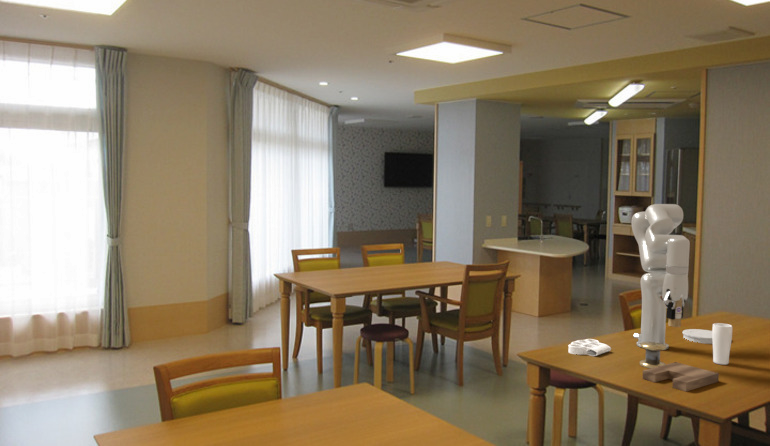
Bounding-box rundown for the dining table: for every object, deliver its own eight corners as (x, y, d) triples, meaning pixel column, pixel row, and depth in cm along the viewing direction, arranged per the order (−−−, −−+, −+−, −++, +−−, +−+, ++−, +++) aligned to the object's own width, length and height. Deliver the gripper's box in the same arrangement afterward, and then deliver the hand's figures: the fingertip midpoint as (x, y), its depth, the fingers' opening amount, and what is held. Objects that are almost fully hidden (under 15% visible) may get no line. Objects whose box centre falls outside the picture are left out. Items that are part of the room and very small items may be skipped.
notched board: (642, 378, 217) (642, 370, 217) (675, 370, 228) (675, 362, 228) (685, 391, 204) (686, 382, 204) (718, 381, 215) (718, 373, 215)
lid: (739, 345, 267) (740, 338, 267) (693, 344, 268) (693, 337, 267) (718, 335, 285) (719, 329, 284) (675, 335, 285) (675, 328, 285)
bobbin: (634, 364, 235) (635, 343, 235) (648, 360, 240) (649, 340, 239) (656, 370, 227) (657, 349, 227) (670, 366, 232) (671, 345, 232)
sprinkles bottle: (675, 328, 230) (677, 292, 229) (665, 325, 235) (666, 290, 233) (683, 326, 232) (685, 291, 231) (673, 324, 236) (675, 289, 235)
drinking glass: (733, 366, 234) (735, 327, 233) (714, 365, 235) (715, 326, 234) (727, 361, 241) (728, 323, 240) (708, 360, 242) (710, 322, 241)
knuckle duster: (592, 359, 243) (559, 351, 253) (614, 351, 255) (582, 344, 265) (593, 351, 242) (560, 343, 253) (614, 343, 255) (582, 337, 265)
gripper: (680, 266, 239) (678, 313, 241) (654, 270, 230) (652, 318, 232) (699, 269, 233) (696, 317, 235) (673, 274, 224) (670, 323, 225)
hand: (674, 317), depth 233 cm, fingers closed on sprinkles bottle, 4 cm apart
